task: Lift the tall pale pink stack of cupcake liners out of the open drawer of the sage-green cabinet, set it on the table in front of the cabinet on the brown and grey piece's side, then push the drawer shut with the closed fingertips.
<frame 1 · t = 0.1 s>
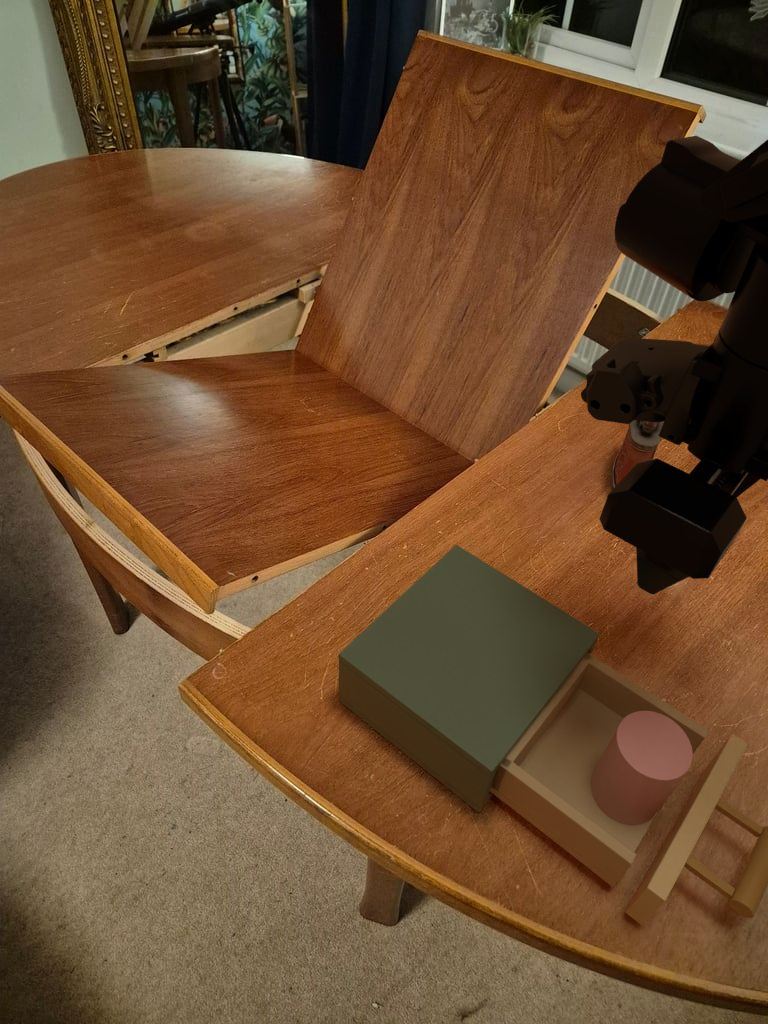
hand: (677, 548, 49), 17 cm above the table, tool pointing down, fingers open, 9 cm apart
liners: (624, 791, 53), point 2 cm above the table, touching drawer
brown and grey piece: (626, 477, 79), on the table
fruit: (680, 406, 89), on the table
drawer: (644, 793, 51), point 3 cm above the table, slide at 11.0 cm, touching liners
cabinet: (461, 690, 60), on the table
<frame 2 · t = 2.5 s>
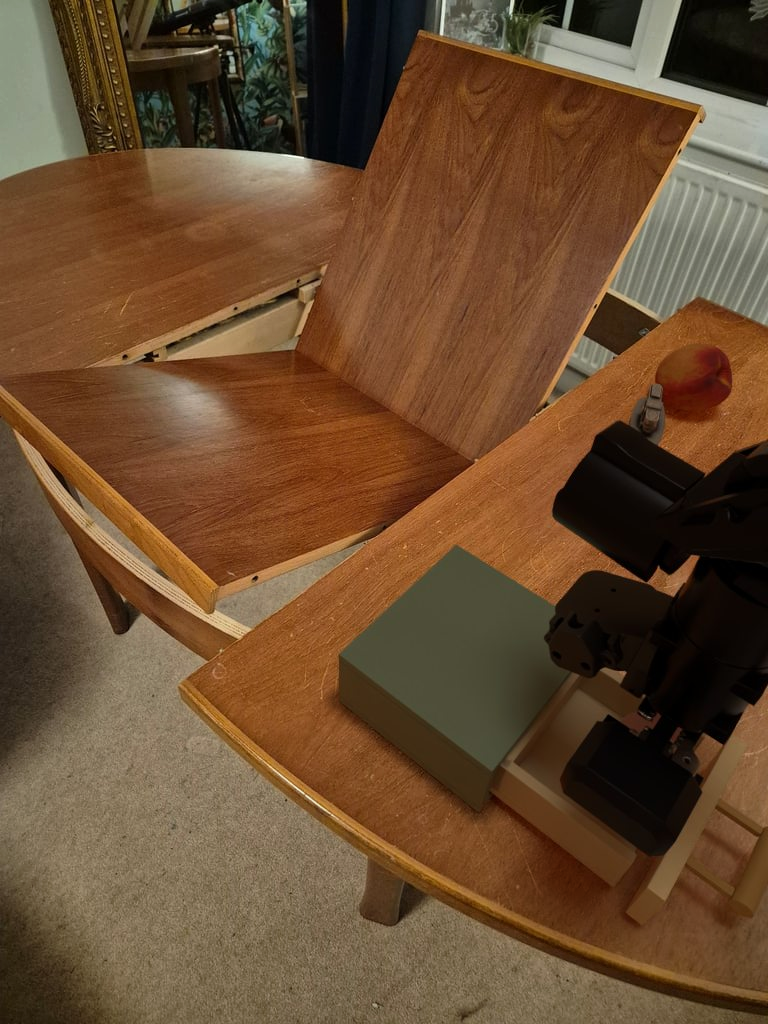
hand: (643, 761, 49), 7 cm above the table, tool pointing down, fingers closed on liners, 5 cm apart
liners: (624, 791, 53), point 2 cm above the table, touching drawer, gripper
everything else where it was.
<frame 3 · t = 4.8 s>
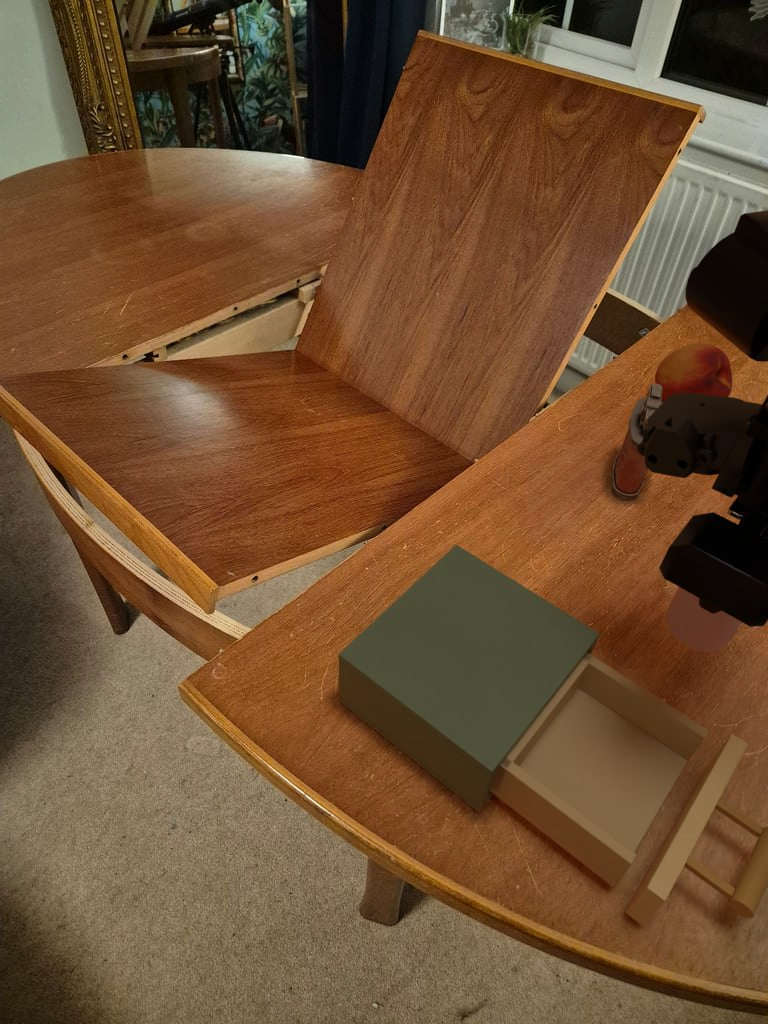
hand: (721, 586, 52), 13 cm above the table, tool pointing down, fingers closed on liners, 5 cm apart
liners: (698, 624, 55), point 9 cm above the table, touching gripper
drawer: (644, 793, 51), point 3 cm above the table, slide at 11.0 cm
everything else where it was.
when the fingers open (4 cm above the table, at t = 7.3 s): liners stays where it is, on the table.
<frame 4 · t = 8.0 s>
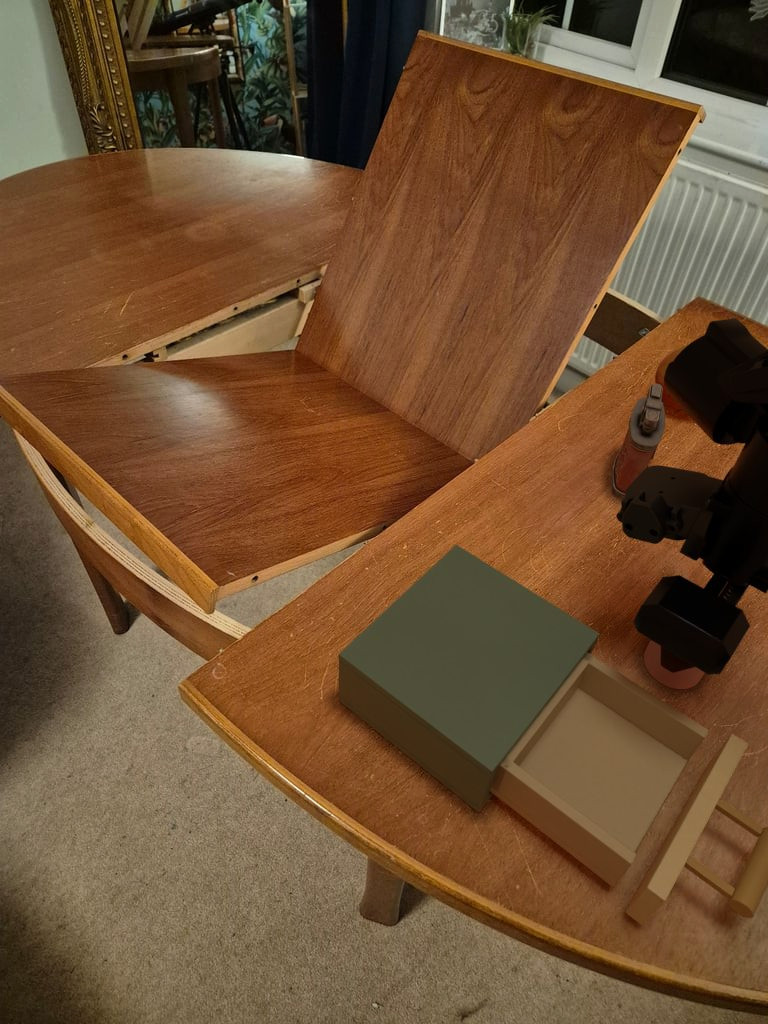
hand: (692, 631, 59), 5 cm above the table, tool pointing down, fingers open, 9 cm apart
liners: (672, 664, 63), on the table
everything else where it was.
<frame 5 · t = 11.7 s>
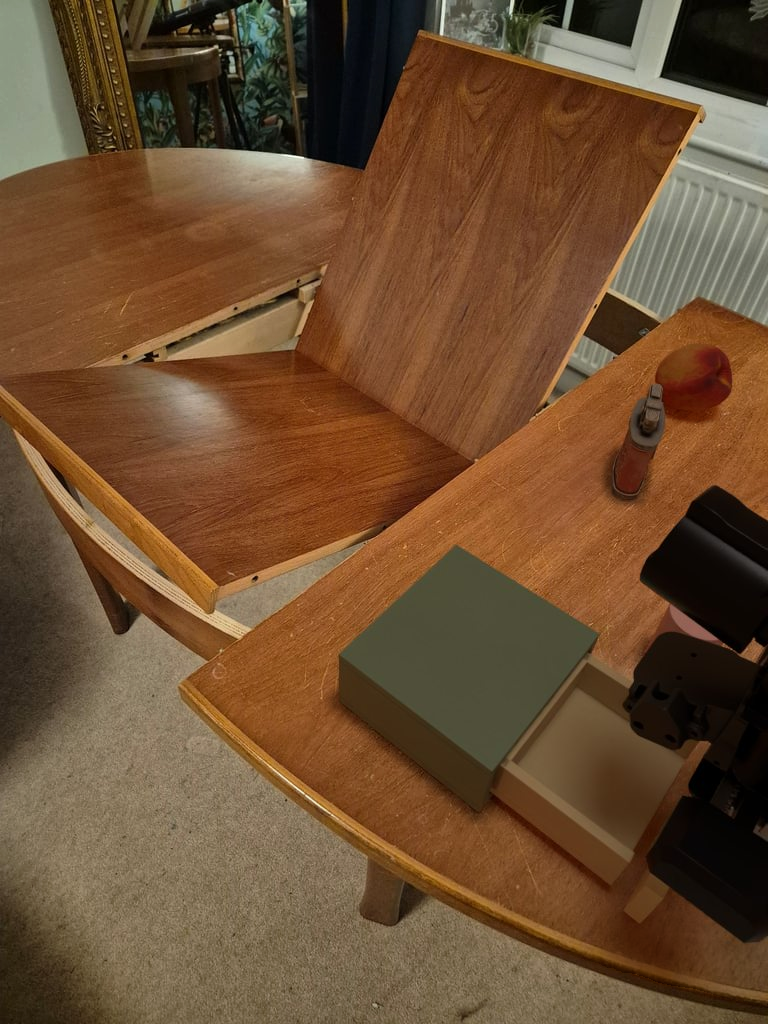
hand: (715, 824, 48), 5 cm above the table, tool pointing down, fingers closed, pressing on drawer
drawer: (642, 792, 51), point 3 cm above the table, slide at 10.8 cm, touching gripper
everything else where it was.
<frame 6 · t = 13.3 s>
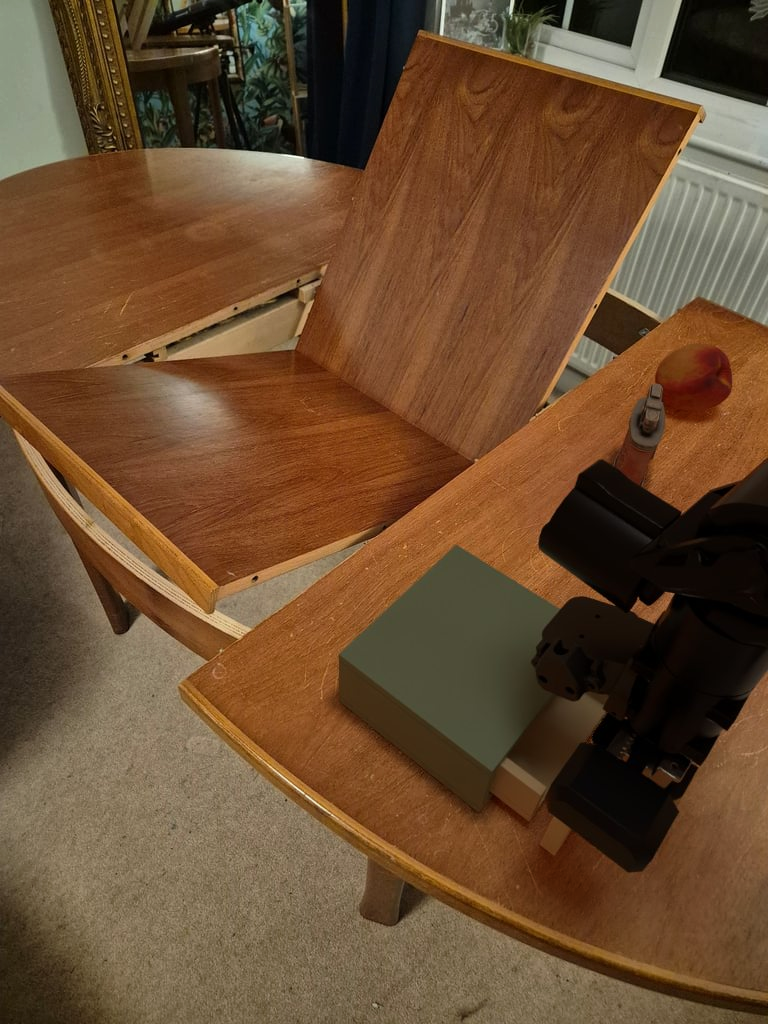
hand: (627, 777, 51), 4 cm above the table, tool pointing down, fingers closed, pressing on drawer
drawer: (562, 735, 54), point 3 cm above the table, slide at 4.5 cm, touching gripper
everything else where it was.
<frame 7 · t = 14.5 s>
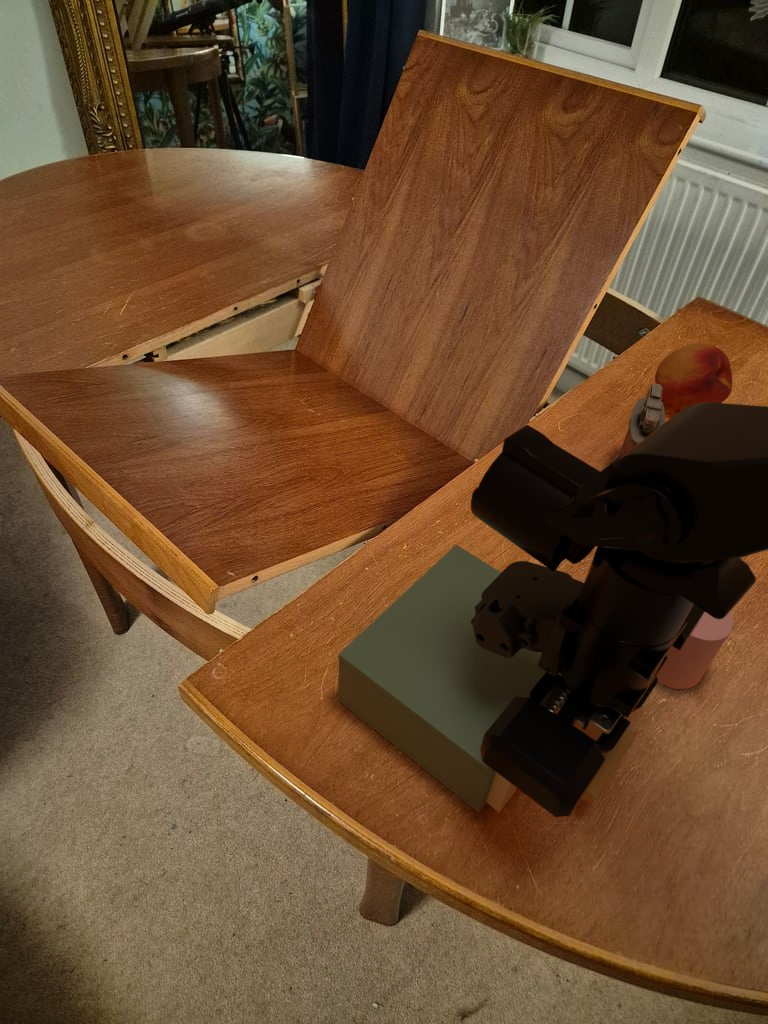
hand: (571, 738, 53), 4 cm above the table, tool pointing down, fingers closed, pressing on drawer
drawer: (510, 699, 56), point 3 cm above the table, slide at 0.0 cm, touching gripper
everything else where it was.
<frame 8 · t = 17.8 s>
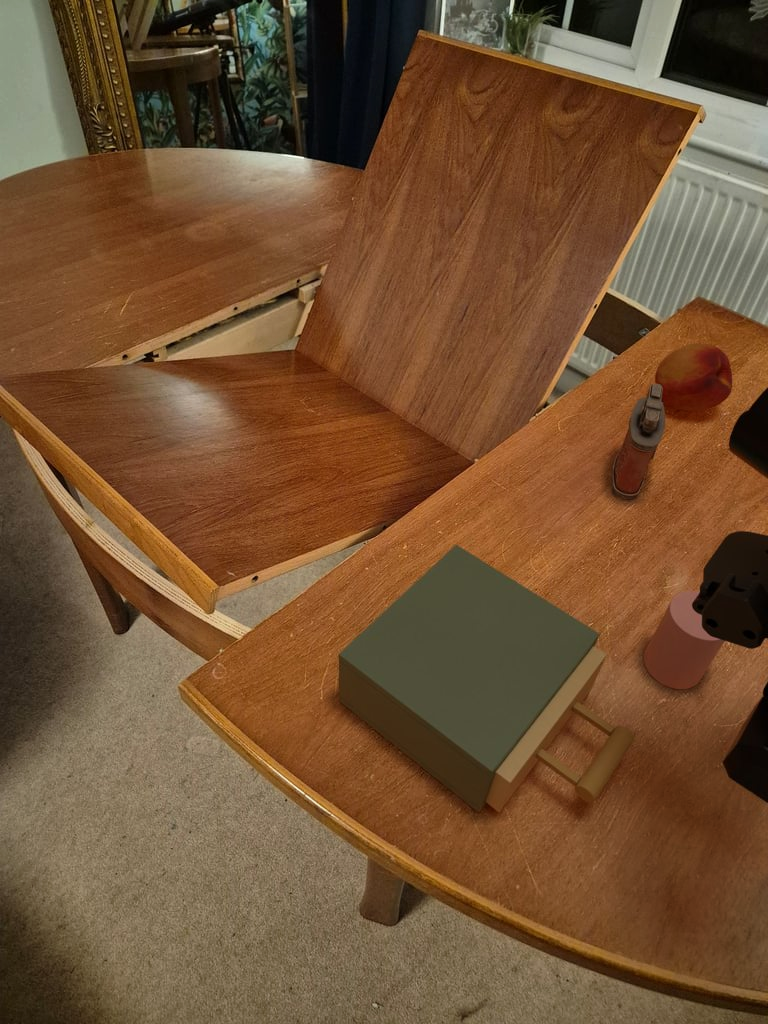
drawer: (510, 699, 56), point 3 cm above the table, slide at 0.0 cm, touching cabinet
everything else where it was.
at the end: liners inside the target area on the table beside the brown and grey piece (0.1 cm from its centre), on the table; liners tilted 0°; drawer slide at 0.0 cm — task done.
